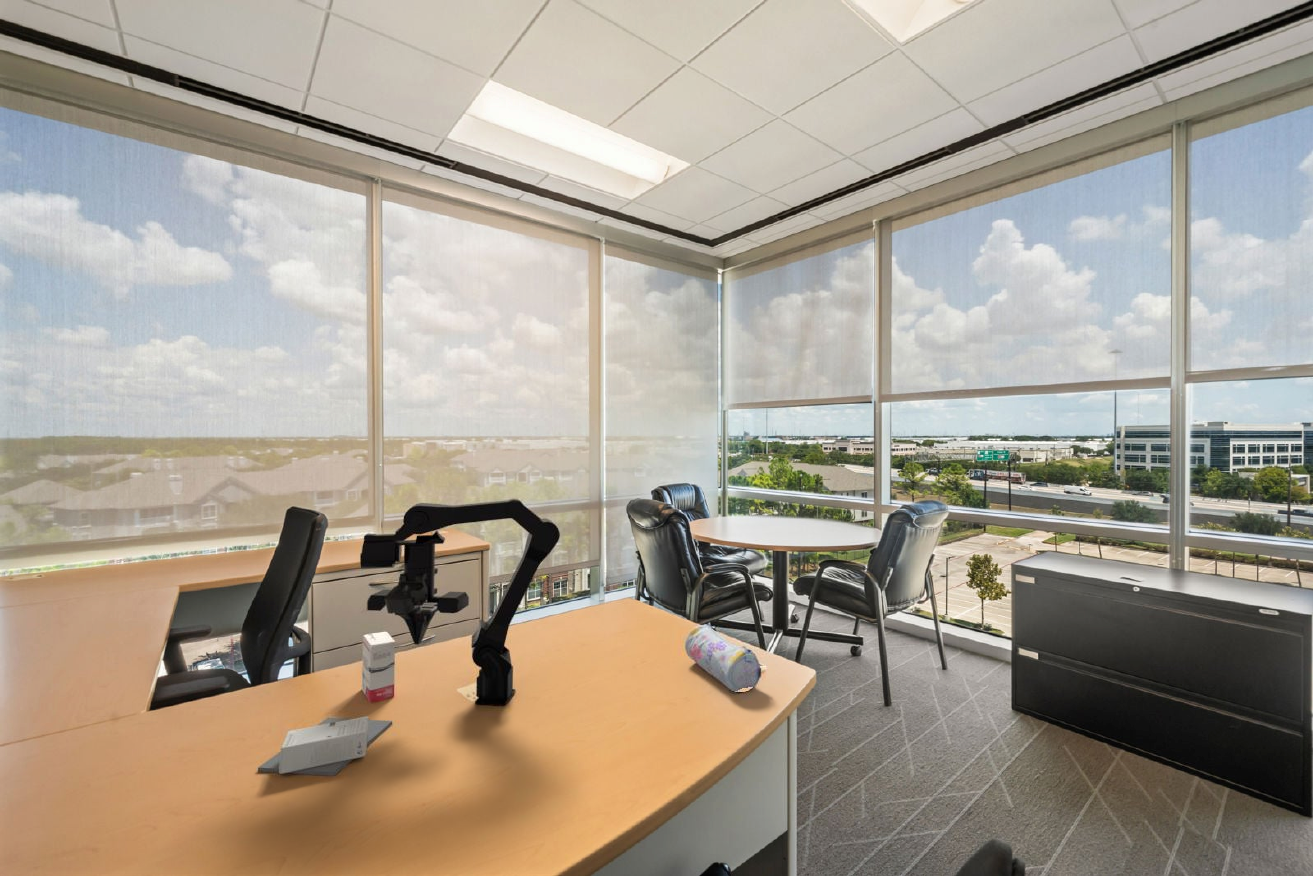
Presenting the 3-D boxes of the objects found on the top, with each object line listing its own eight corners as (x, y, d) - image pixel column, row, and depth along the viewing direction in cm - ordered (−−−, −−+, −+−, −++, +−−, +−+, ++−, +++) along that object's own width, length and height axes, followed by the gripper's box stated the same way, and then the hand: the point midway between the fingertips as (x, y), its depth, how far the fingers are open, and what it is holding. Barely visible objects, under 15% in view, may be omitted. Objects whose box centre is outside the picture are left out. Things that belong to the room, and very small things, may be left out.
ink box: (395, 697, 111) (396, 640, 111) (369, 704, 108) (370, 646, 108) (385, 683, 117) (386, 629, 118) (360, 689, 114) (361, 634, 115)
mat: (392, 724, 100) (392, 721, 100) (334, 776, 84) (334, 772, 84) (327, 720, 101) (327, 717, 101) (257, 771, 85) (257, 767, 85)
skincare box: (367, 731, 88) (279, 746, 83) (365, 758, 88) (278, 776, 83) (369, 714, 94) (287, 728, 88) (367, 740, 94) (285, 755, 88)
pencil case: (763, 691, 115) (763, 648, 115) (730, 699, 111) (731, 654, 111) (712, 657, 134) (712, 620, 134) (682, 663, 130) (682, 625, 130)
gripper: (349, 574, 99) (347, 657, 99) (444, 576, 98) (443, 661, 97) (384, 561, 110) (382, 636, 110) (470, 564, 109) (469, 640, 108)
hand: (417, 643), depth 106 cm, fingers closed
